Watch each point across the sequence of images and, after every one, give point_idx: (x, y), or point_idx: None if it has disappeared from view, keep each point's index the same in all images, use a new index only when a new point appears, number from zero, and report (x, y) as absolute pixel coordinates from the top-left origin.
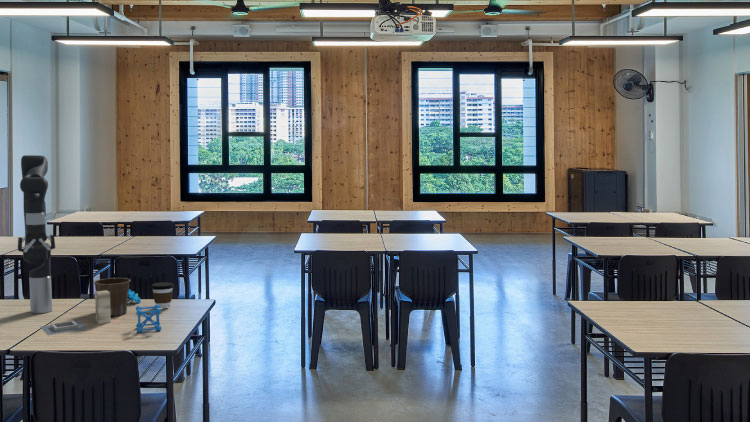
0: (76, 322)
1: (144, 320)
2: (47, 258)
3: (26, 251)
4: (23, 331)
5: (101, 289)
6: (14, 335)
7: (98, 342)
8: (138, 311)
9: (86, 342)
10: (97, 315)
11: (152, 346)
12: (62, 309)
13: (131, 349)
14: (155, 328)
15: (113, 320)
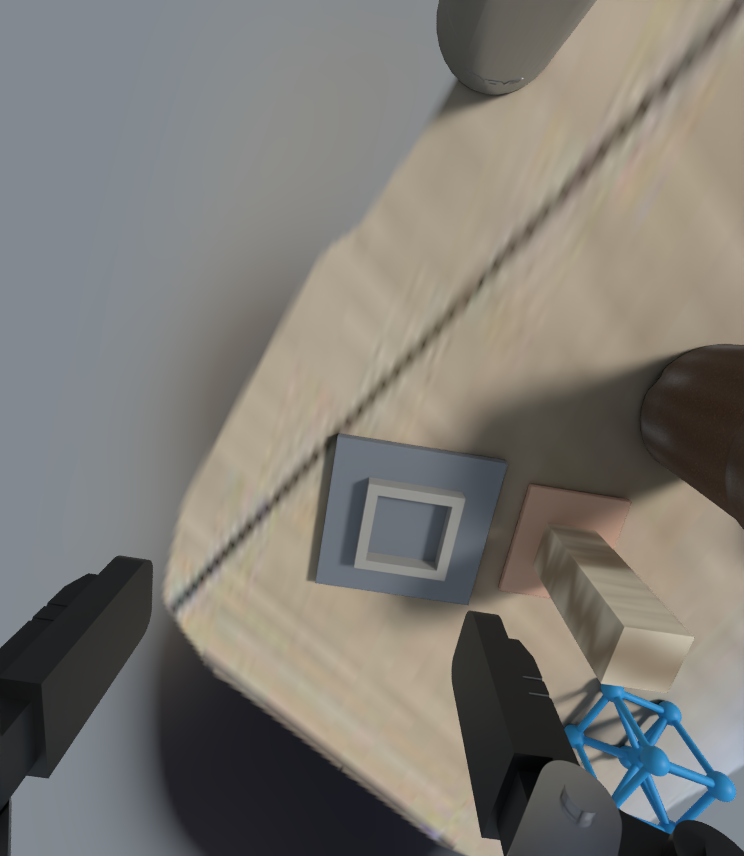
0: (483, 481)
1: (629, 735)
2: (454, 667)
3: (8, 812)
4: (271, 420)
5: (740, 508)
6: (224, 456)
7: (415, 732)
8: None
9: (388, 709)
10: (552, 570)
11: (501, 849)
12: (611, 71)
13: (445, 836)
14: (618, 757)
15: (612, 545)
